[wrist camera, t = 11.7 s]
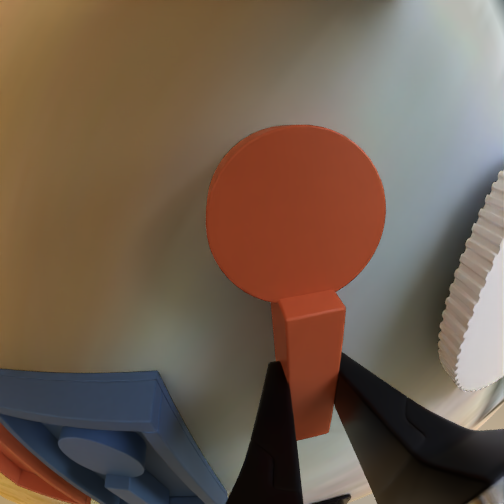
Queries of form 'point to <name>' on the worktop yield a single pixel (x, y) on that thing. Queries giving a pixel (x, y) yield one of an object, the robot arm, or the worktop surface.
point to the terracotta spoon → (298, 246)
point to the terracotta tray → (34, 472)
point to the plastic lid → (477, 302)
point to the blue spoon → (115, 462)
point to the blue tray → (107, 428)
